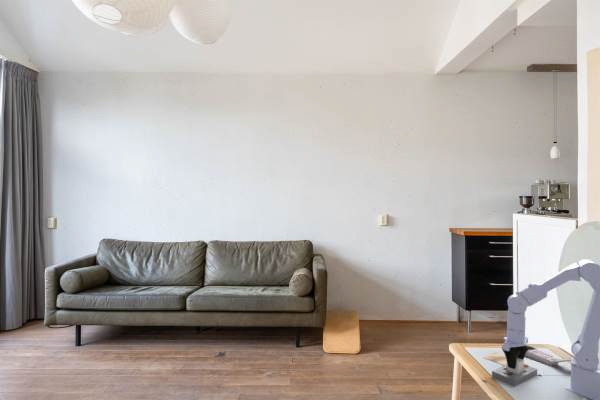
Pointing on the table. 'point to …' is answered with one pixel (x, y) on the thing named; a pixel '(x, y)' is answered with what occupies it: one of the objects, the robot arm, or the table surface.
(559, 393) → the table surface
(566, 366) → the table surface
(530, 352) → the mobile phone
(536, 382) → the table surface
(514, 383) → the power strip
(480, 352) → the table surface
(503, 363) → the cork coaster
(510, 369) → the white rectangular block
